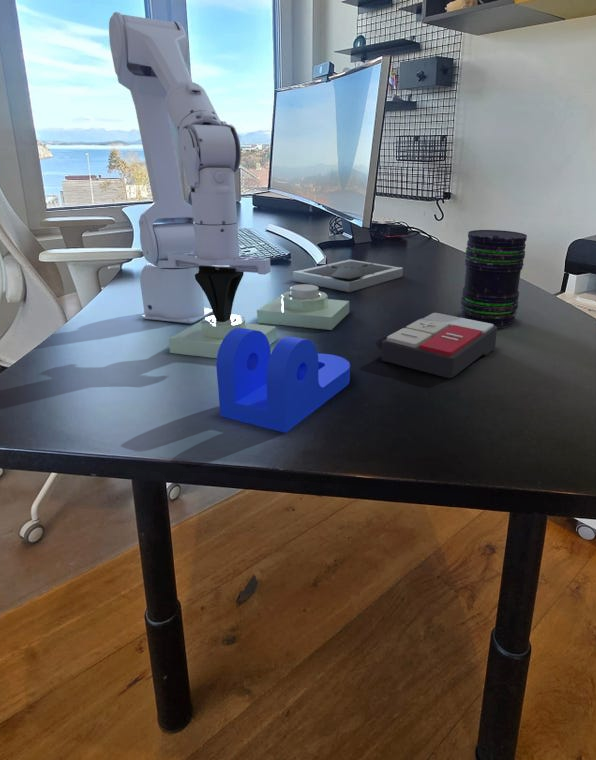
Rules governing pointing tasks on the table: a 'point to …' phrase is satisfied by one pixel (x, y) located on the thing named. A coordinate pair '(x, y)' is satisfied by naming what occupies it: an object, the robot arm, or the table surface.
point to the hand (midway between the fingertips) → (223, 320)
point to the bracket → (275, 379)
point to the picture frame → (347, 275)
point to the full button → (304, 291)
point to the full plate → (304, 311)
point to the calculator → (439, 344)
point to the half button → (223, 322)
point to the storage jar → (492, 276)
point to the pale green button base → (212, 336)
